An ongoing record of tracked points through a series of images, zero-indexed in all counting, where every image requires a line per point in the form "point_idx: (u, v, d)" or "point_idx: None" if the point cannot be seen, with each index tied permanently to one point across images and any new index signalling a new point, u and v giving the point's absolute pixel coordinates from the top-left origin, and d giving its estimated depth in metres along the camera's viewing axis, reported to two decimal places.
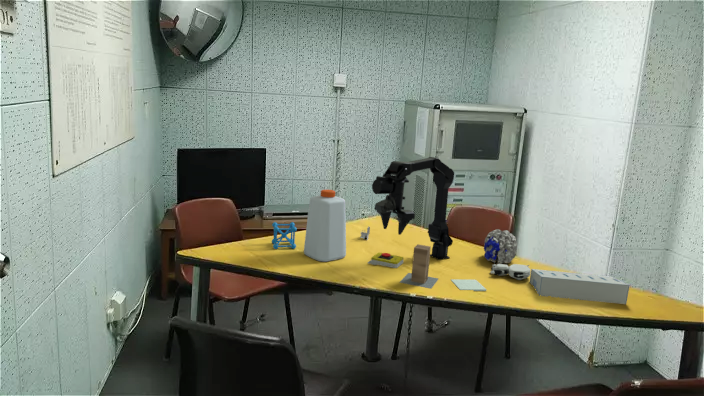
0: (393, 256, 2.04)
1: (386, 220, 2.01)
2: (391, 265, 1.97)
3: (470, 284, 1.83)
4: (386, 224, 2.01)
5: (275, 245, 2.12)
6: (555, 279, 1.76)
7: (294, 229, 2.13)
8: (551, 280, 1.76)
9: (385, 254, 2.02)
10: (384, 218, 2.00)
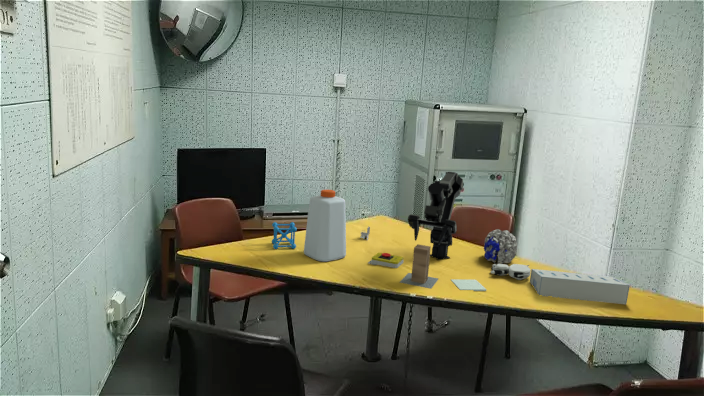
0: (393, 256, 2.04)
1: (417, 232, 1.93)
2: (391, 265, 1.97)
3: (470, 284, 1.83)
4: (417, 236, 1.92)
5: (275, 245, 2.12)
6: (555, 279, 1.76)
7: (294, 229, 2.13)
8: (551, 280, 1.76)
9: (385, 254, 2.02)
10: (417, 229, 1.93)
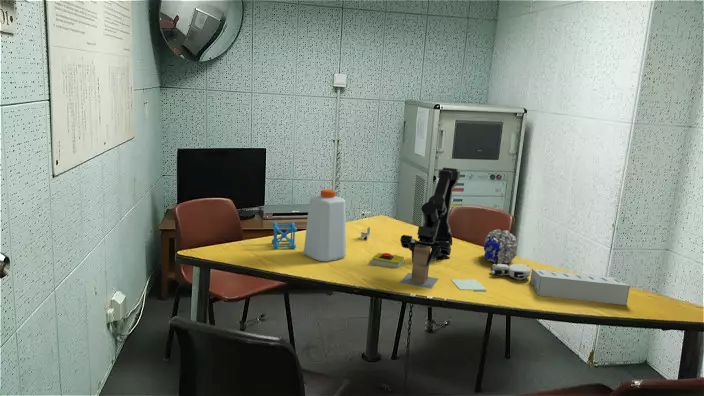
0: (393, 256, 2.04)
1: None
2: (393, 265, 1.97)
3: (470, 284, 1.83)
4: None
5: (275, 245, 2.12)
6: (554, 279, 1.76)
7: (294, 229, 2.13)
8: (550, 280, 1.77)
9: (386, 254, 2.02)
10: None
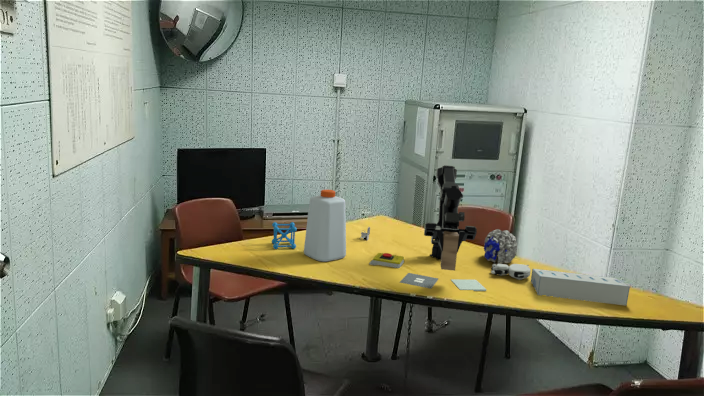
0: (394, 256, 2.04)
1: None
2: (394, 265, 1.97)
3: (470, 284, 1.83)
4: (442, 246, 1.80)
5: (275, 245, 2.12)
6: (554, 279, 1.76)
7: (294, 229, 2.13)
8: (550, 279, 1.77)
9: (386, 254, 2.02)
10: None
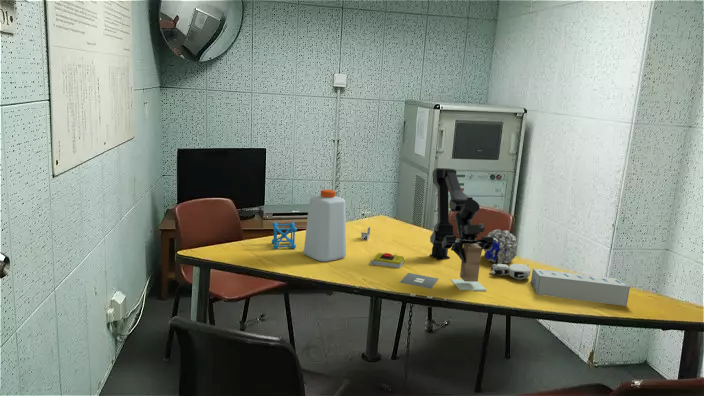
0: (394, 256, 2.04)
1: None
2: (394, 265, 1.98)
3: (470, 284, 1.83)
4: None
5: (275, 245, 2.12)
6: (553, 278, 1.77)
7: (294, 229, 2.13)
8: (549, 279, 1.77)
9: (387, 254, 2.02)
10: None
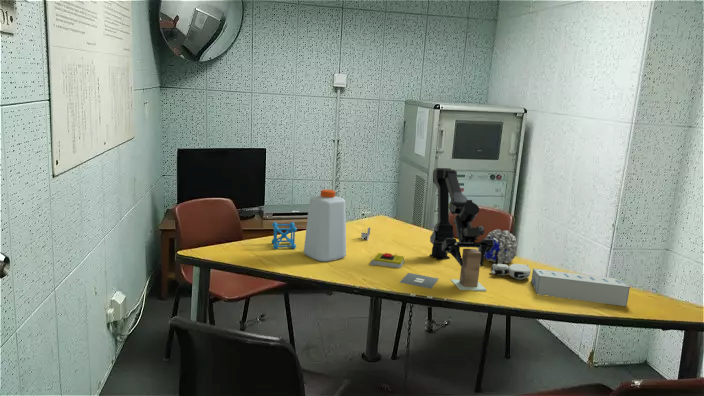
0: (394, 256, 2.04)
1: None
2: (395, 265, 1.98)
3: None
4: None
5: (275, 245, 2.12)
6: (553, 278, 1.77)
7: (294, 229, 2.13)
8: (549, 279, 1.77)
9: (387, 254, 2.02)
10: None
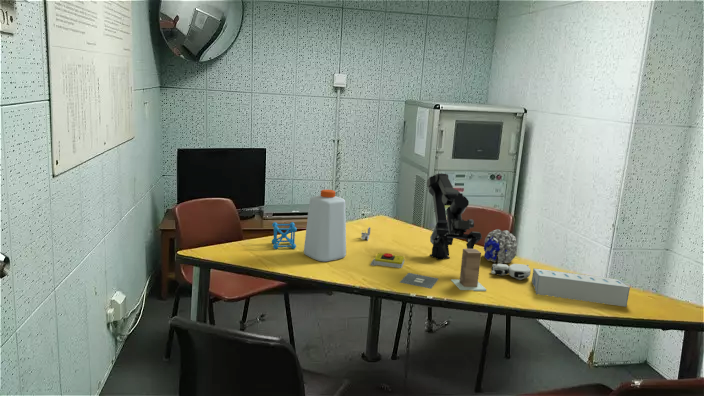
0: (394, 256, 2.05)
1: None
2: (396, 265, 1.98)
3: None
4: None
5: (275, 245, 2.12)
6: (552, 278, 1.77)
7: (294, 229, 2.13)
8: (549, 279, 1.77)
9: (387, 254, 2.02)
10: None
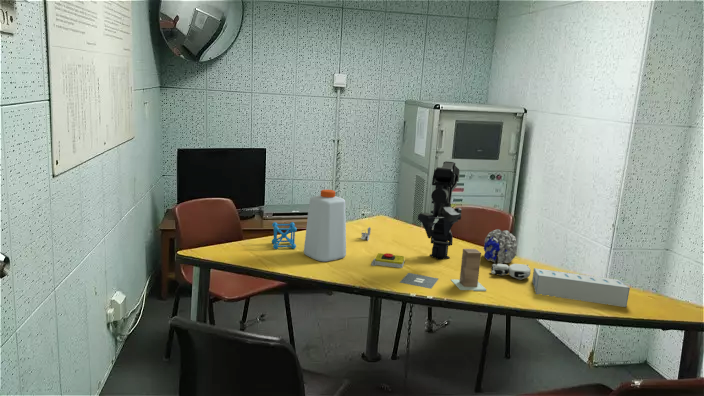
0: (394, 256, 2.05)
1: None
2: (397, 265, 1.98)
3: None
4: None
5: (275, 245, 2.12)
6: (552, 278, 1.77)
7: (294, 229, 2.13)
8: (548, 279, 1.77)
9: (388, 255, 2.02)
10: None
